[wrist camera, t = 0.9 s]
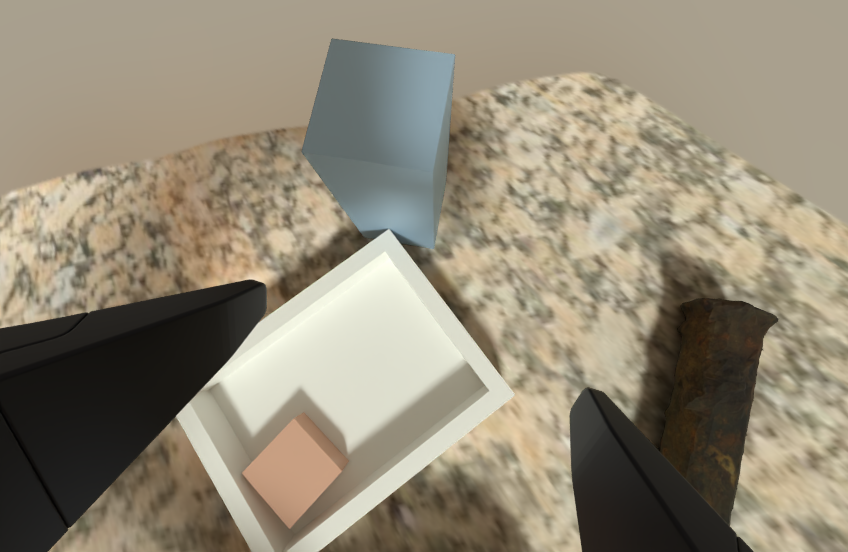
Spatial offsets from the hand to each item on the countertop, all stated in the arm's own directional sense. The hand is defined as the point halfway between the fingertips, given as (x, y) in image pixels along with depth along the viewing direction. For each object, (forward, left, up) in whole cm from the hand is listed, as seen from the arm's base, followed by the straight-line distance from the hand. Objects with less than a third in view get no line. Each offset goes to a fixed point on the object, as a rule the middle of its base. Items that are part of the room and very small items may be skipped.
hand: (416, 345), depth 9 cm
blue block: (+4, +8, -13) cm, 16 cm away
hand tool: (+8, -15, -14) cm, 22 cm away
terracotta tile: (-10, -1, -12) cm, 16 cm away
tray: (-6, +1, -13) cm, 14 cm away
